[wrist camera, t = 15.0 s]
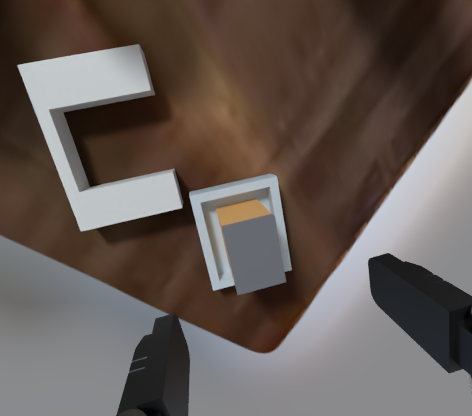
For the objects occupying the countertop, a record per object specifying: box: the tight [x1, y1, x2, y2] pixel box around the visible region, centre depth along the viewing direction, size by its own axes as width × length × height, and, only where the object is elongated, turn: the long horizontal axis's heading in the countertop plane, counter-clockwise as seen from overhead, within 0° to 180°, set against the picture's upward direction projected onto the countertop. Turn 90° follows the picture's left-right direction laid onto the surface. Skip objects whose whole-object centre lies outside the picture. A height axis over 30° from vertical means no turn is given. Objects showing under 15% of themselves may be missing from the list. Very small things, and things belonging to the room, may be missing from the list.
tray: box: [189, 173, 292, 291], centre depth 33 cm, size 10×12×2 cm
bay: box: [17, 44, 183, 231], centre depth 28 cm, size 11×16×3 cm
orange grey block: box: [216, 198, 286, 295], centre depth 30 cm, size 5×7×8 cm
